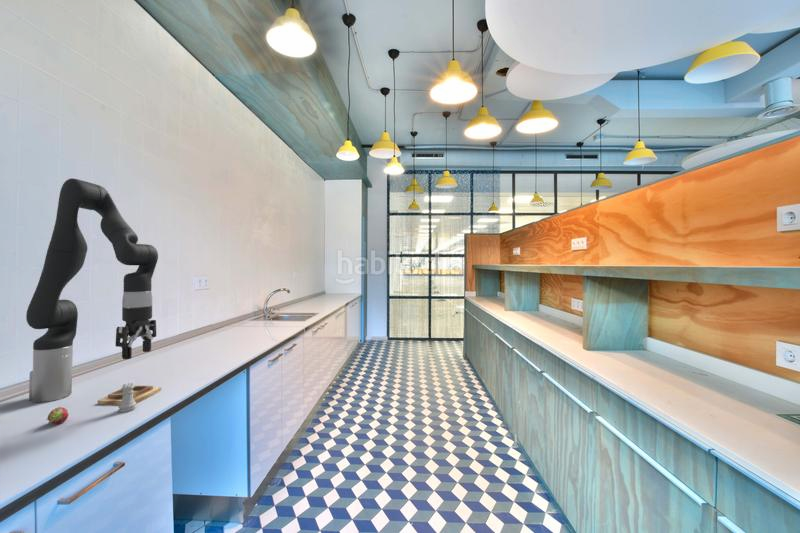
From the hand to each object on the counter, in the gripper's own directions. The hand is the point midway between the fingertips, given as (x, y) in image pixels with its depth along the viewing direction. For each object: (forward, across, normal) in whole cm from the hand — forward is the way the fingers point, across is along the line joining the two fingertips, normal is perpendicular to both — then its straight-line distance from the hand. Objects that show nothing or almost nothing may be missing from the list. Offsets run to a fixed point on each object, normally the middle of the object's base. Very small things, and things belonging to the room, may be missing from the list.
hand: (137, 355), depth 104 cm
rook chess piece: (+17, +2, -1) cm, 17 cm away
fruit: (+17, +10, -14) cm, 24 cm away
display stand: (+17, -8, -8) cm, 20 cm away
